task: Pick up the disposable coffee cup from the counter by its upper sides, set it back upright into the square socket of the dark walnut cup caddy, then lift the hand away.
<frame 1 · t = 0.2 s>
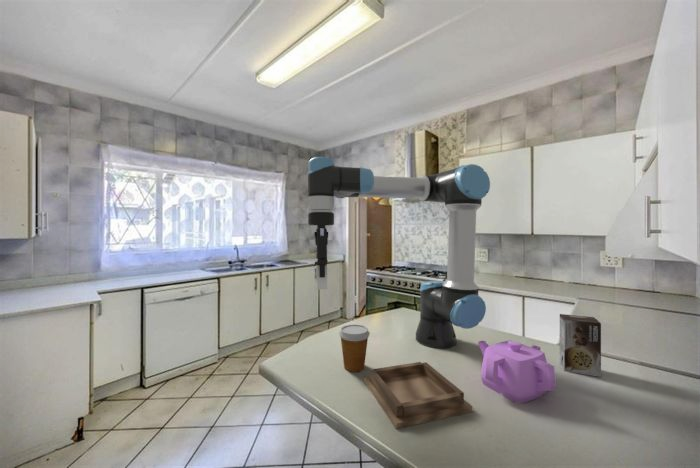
hand: (321, 284, 84), 27 cm above the countertop, tool pointing down, fingers open, 13 cm apart
cup caddy: (413, 395, 74), on the countertop
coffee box: (578, 370, 88), on the countertop
disposable coffee cup: (354, 367, 89), on the countertop
teakettle: (513, 386, 79), on the countertop
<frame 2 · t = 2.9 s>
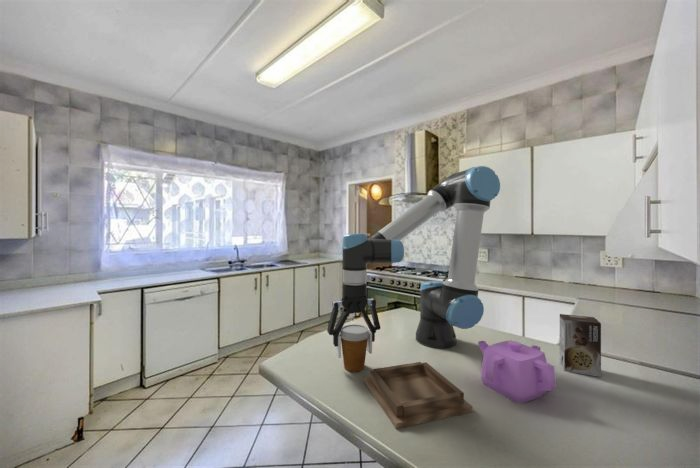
hand: (354, 353, 89), 4 cm above the countertop, tool pointing down, fingers closed on disposable coffee cup, 9 cm apart
disposable coffee cup: (354, 367, 89), on the countertop, touching gripper
everything else where it was.
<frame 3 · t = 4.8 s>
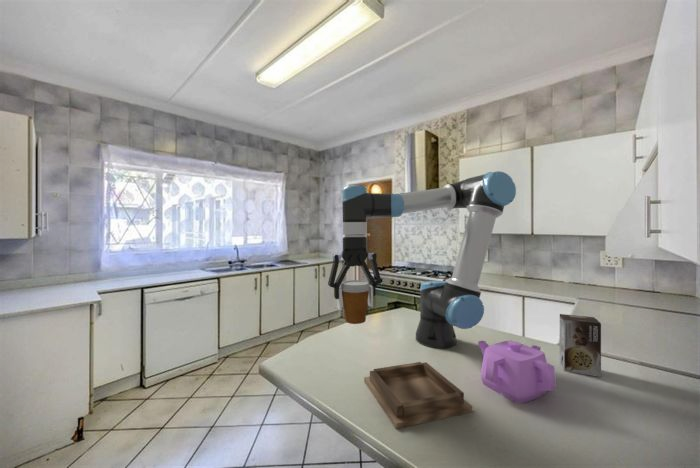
hand: (355, 307, 89), 19 cm above the countertop, tool pointing down, fingers closed on disposable coffee cup, 9 cm apart
disposable coffee cup: (355, 321, 89), point 14 cm above the countertop, touching gripper
everything else where it was.
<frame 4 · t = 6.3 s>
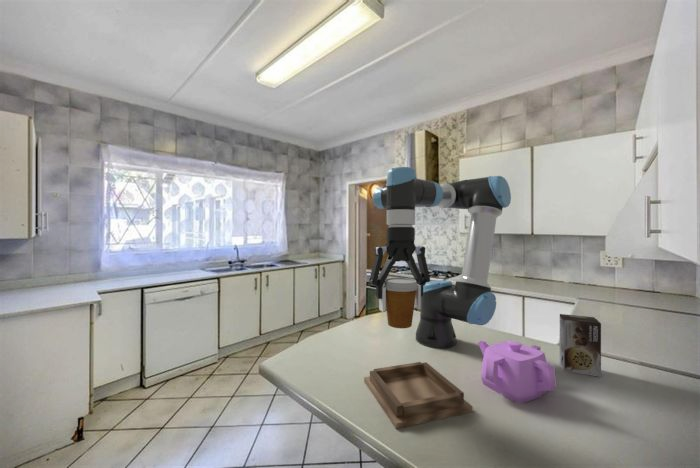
hand: (399, 309, 77), 22 cm above the countertop, tool pointing down, fingers closed on disposable coffee cup, 9 cm apart
disposable coffee cup: (399, 325, 77), point 17 cm above the countertop, touching gripper
everything else where it was.
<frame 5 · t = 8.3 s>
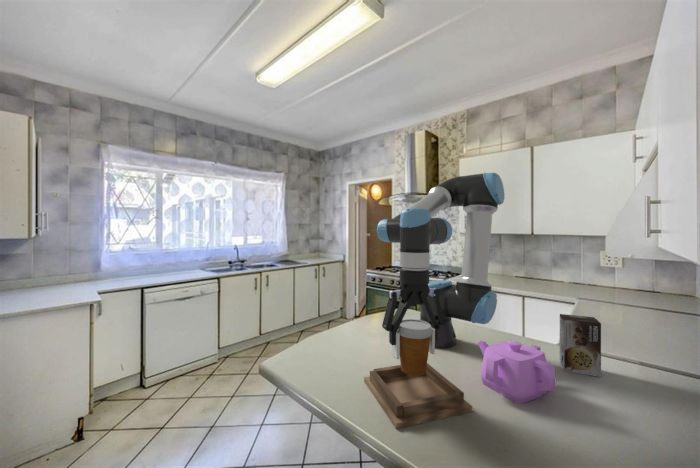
hand: (413, 354, 74), 11 cm above the countertop, tool pointing down, fingers closed on disposable coffee cup, 9 cm apart
disposable coffee cup: (413, 370, 74), point 6 cm above the countertop, touching gripper
everything else where it was.
when the fingers open (7 cm above the countertop, at t = 9.9 s): disposable coffee cup drops 1 cm, resting on cup caddy.
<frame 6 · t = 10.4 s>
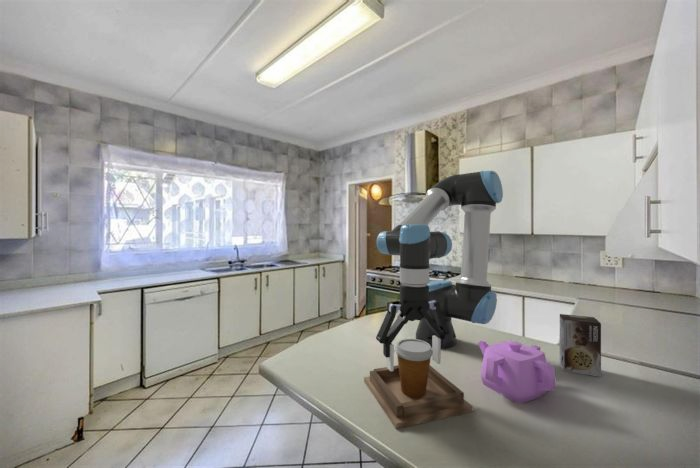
hand: (413, 365, 74), 8 cm above the countertop, tool pointing down, fingers open, 13 cm apart
disposable coffee cup: (413, 391, 74), point 1 cm above the countertop, touching cup caddy
everything else where it was.
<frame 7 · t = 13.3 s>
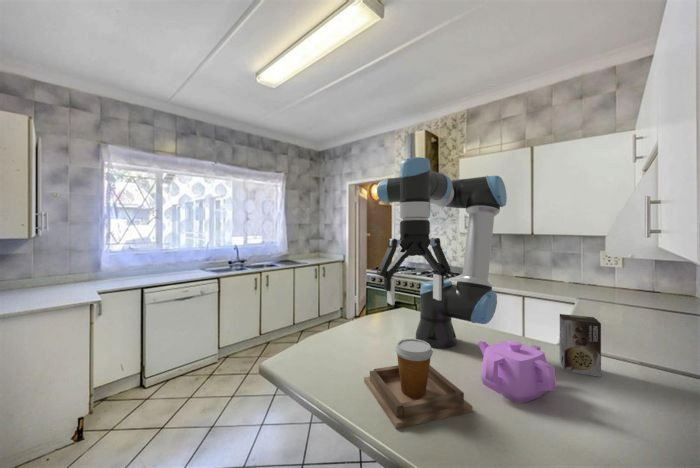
hand: (414, 301, 74), 25 cm above the countertop, tool pointing down, fingers open, 13 cm apart
nothing on the countertop moved.
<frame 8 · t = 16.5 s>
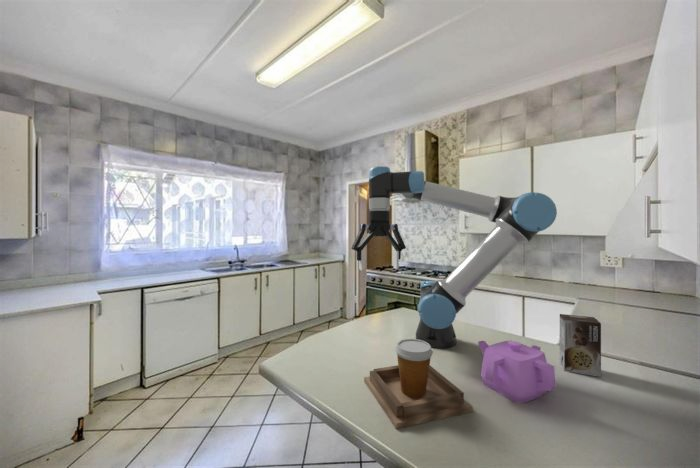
hand: (379, 269, 103), 29 cm above the countertop, tool pointing down, fingers open, 13 cm apart
nothing on the countertop moved.
at the end: disposable coffee cup 0.0 cm off-centre on the cup caddy, point 1.0 cm above the cup caddy's base; disposable coffee cup tilted 0°; the gripper is holding nothing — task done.
